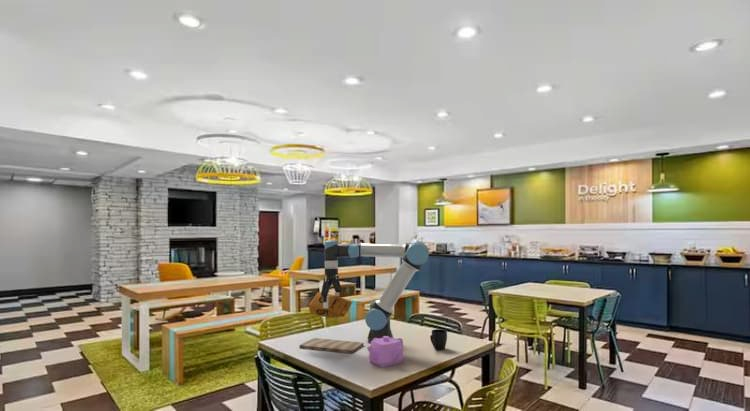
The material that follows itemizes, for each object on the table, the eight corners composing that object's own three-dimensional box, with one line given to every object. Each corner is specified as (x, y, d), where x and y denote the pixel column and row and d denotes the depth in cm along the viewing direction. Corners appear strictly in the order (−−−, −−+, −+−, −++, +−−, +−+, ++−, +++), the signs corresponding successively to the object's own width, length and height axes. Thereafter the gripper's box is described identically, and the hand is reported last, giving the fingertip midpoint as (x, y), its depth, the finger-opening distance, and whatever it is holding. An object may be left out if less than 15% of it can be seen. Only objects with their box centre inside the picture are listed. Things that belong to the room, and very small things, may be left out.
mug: (424, 350, 218) (424, 332, 218) (437, 345, 226) (437, 328, 227) (437, 353, 212) (436, 335, 213) (450, 348, 221) (449, 330, 221)
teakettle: (403, 356, 208) (403, 332, 208) (403, 368, 191) (402, 341, 191) (370, 356, 209) (370, 332, 210) (367, 367, 192) (366, 341, 193)
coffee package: (306, 303, 226) (341, 311, 217) (317, 289, 235) (351, 296, 227) (309, 316, 230) (344, 324, 222) (320, 302, 240) (353, 309, 232)
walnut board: (363, 345, 229) (363, 342, 229) (351, 353, 214) (351, 350, 214) (314, 340, 240) (314, 337, 240) (299, 347, 226) (299, 345, 226)
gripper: (335, 265, 243) (335, 301, 241) (314, 269, 220) (314, 309, 218) (346, 266, 240) (347, 302, 239) (326, 270, 217) (326, 310, 216)
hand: (331, 305), depth 228 cm, fingers closed on coffee package, 13 cm apart
